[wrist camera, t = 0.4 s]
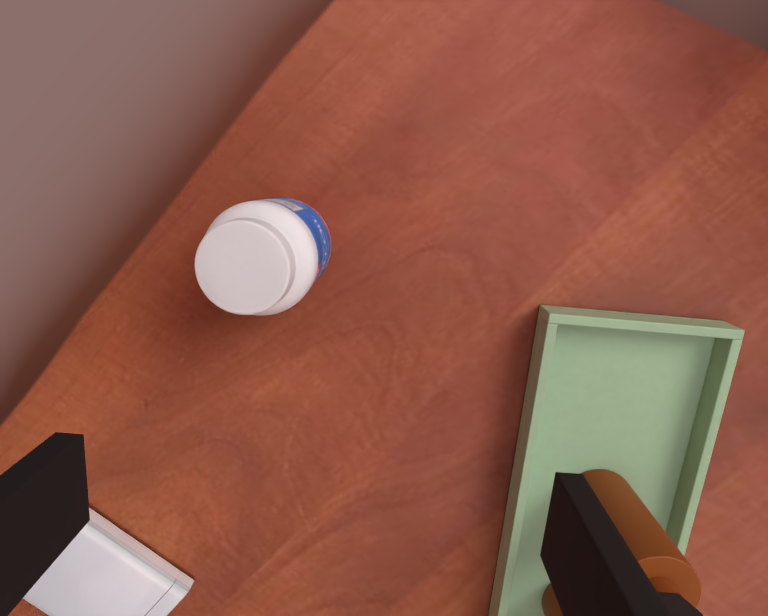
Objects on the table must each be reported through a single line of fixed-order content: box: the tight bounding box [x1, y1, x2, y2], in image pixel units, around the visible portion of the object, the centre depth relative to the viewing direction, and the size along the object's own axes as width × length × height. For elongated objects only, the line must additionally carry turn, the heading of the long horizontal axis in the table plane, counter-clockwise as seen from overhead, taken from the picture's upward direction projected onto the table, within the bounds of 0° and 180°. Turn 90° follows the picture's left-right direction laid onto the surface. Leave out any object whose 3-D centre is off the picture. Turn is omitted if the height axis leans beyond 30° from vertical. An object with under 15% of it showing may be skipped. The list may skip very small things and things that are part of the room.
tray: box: [488, 305, 745, 616], centre depth 34 cm, size 25×11×2 cm, turn 175°
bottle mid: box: [581, 469, 701, 608], centre depth 29 cm, size 5×5×11 cm
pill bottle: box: [195, 198, 332, 316], centre depth 26 cm, size 6×5×10 cm
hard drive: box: [23, 508, 194, 616], centre depth 36 cm, size 2×8×12 cm
